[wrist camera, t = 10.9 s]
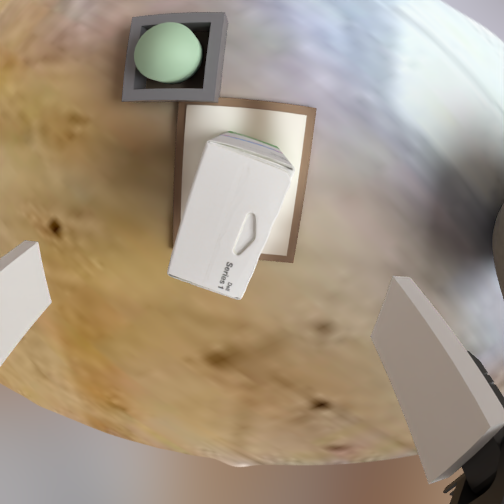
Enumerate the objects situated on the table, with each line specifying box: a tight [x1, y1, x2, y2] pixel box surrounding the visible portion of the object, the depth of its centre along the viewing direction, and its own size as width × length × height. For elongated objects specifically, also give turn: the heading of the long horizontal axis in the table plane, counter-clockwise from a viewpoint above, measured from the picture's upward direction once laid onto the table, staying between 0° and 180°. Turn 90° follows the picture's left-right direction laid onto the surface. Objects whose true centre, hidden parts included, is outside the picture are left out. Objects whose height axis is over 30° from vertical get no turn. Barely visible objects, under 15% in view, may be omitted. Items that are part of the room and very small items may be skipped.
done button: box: [134, 22, 203, 84], centre depth 20 cm, size 5×5×3 cm
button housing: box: [122, 12, 228, 103], centre depth 21 cm, size 8×8×3 cm
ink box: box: [167, 131, 295, 300], centre depth 21 cm, size 8×5×12 cm, turn 160°
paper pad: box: [173, 97, 316, 263], centre depth 27 cm, size 12×15×1 cm
